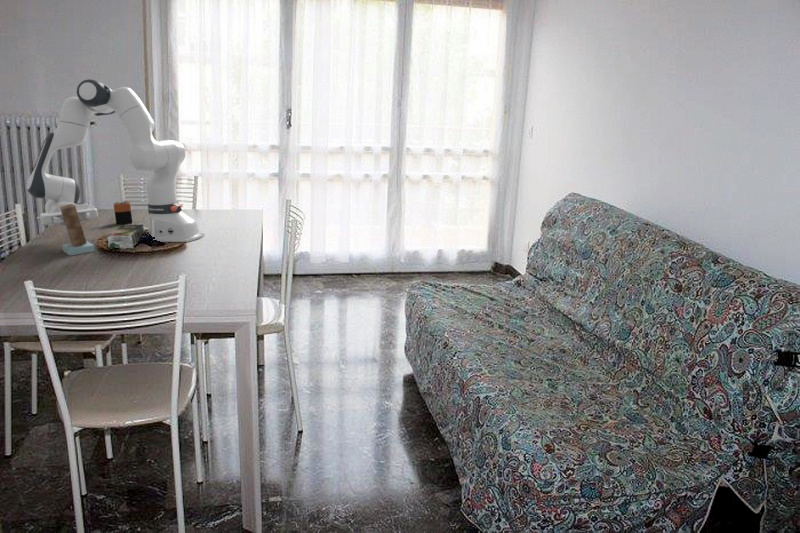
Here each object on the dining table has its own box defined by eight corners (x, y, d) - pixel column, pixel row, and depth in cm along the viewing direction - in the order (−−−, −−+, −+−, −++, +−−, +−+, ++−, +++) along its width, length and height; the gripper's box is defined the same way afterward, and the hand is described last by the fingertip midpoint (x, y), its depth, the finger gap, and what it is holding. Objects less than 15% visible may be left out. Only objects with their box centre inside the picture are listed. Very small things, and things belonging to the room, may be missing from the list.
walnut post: (83, 240, 266) (72, 203, 260) (86, 243, 262) (75, 206, 256) (71, 244, 263) (59, 207, 257) (74, 246, 260) (62, 209, 254)
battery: (132, 223, 310) (129, 201, 307) (116, 224, 307) (113, 202, 305) (131, 221, 314) (129, 199, 311) (115, 223, 311) (113, 201, 308)
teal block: (87, 248, 270) (86, 240, 269) (95, 252, 263) (94, 245, 262) (63, 252, 264) (62, 244, 263) (70, 256, 258) (68, 249, 257)
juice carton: (134, 250, 265) (132, 234, 263) (107, 251, 264) (105, 235, 262) (146, 238, 284) (144, 223, 282) (121, 239, 283) (119, 225, 281)
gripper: (34, 209, 263) (43, 214, 252) (90, 202, 275) (101, 207, 265) (36, 225, 265) (45, 231, 254) (92, 217, 277) (103, 223, 267)
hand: (74, 219), depth 260 cm, fingers open, 8 cm apart
